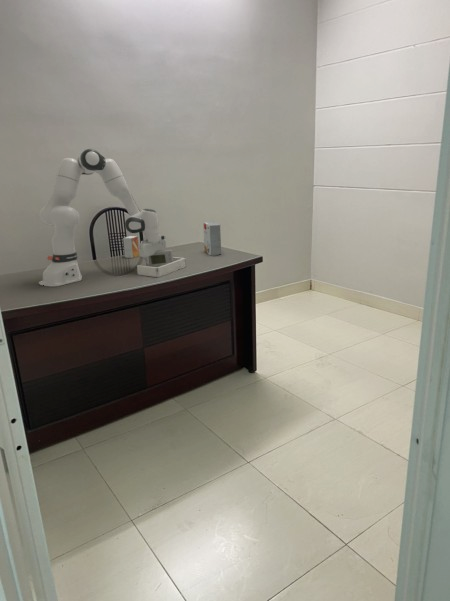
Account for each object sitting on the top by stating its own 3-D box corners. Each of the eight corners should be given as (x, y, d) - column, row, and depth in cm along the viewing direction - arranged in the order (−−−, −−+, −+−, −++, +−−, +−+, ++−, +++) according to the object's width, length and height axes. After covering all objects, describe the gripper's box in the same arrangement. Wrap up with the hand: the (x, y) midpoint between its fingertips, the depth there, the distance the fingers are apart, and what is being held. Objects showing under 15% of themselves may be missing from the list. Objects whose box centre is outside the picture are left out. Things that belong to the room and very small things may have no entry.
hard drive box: (204, 251, 289) (203, 222, 283) (215, 250, 291) (214, 221, 285) (210, 256, 275) (209, 225, 269) (221, 255, 277) (220, 224, 271)
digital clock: (146, 272, 238) (144, 253, 235) (146, 268, 246) (144, 250, 243) (175, 270, 241) (174, 251, 237) (174, 266, 249) (172, 248, 246)
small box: (133, 258, 275) (131, 238, 270) (124, 257, 277) (122, 237, 273) (139, 255, 282) (137, 236, 278) (131, 255, 284) (129, 235, 280)
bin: (158, 277, 227) (157, 268, 225) (137, 274, 234) (137, 265, 232) (186, 266, 249) (185, 258, 247) (166, 264, 255) (166, 256, 254)
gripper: (144, 241, 228) (146, 266, 233) (167, 235, 245) (168, 259, 249) (135, 241, 231) (137, 265, 236) (158, 235, 248) (160, 258, 252)
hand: (153, 262), depth 243 cm, fingers open, 8 cm apart
